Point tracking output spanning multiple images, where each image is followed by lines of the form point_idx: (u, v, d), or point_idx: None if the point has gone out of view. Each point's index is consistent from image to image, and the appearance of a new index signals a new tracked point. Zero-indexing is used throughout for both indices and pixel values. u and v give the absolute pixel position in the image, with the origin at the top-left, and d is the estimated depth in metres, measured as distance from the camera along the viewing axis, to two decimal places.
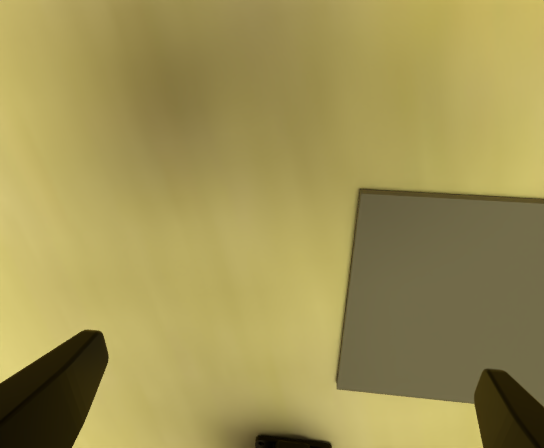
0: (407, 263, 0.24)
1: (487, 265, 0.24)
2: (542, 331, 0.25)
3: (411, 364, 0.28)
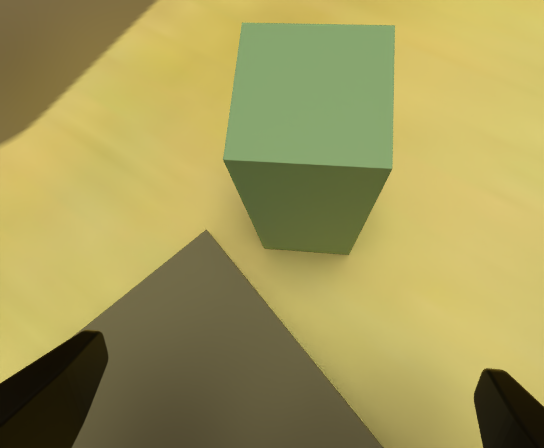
0: None
1: (146, 367, 0.22)
2: (261, 382, 0.22)
3: None
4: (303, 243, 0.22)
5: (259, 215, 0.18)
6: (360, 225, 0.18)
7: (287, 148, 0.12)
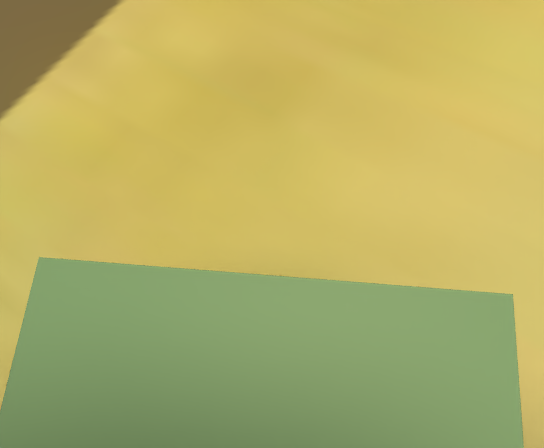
0: None
1: None
2: None
3: None
4: None
5: None
6: None
7: None
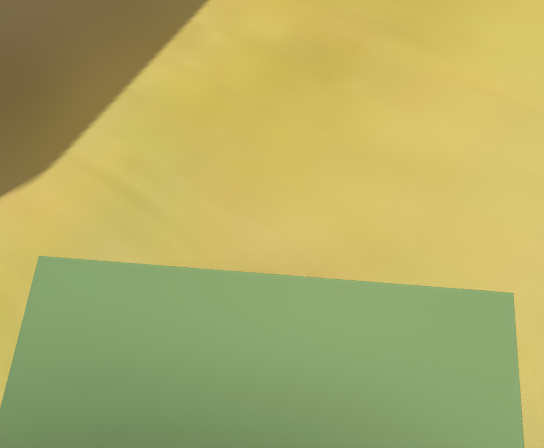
0: None
1: None
2: None
3: None
4: None
5: None
6: None
7: None
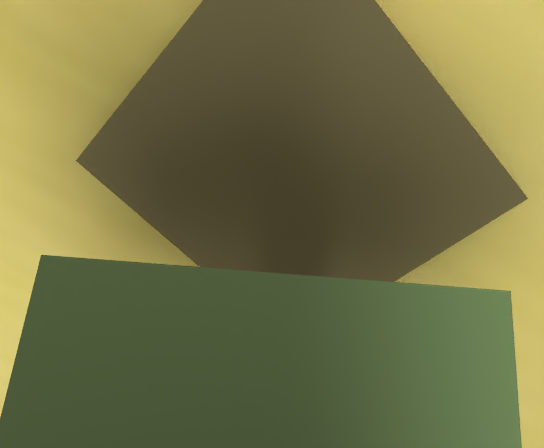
0: (180, 180, 0.20)
1: (236, 115, 0.18)
2: (379, 124, 0.18)
3: (314, 269, 0.22)
4: None
5: None
6: None
7: None
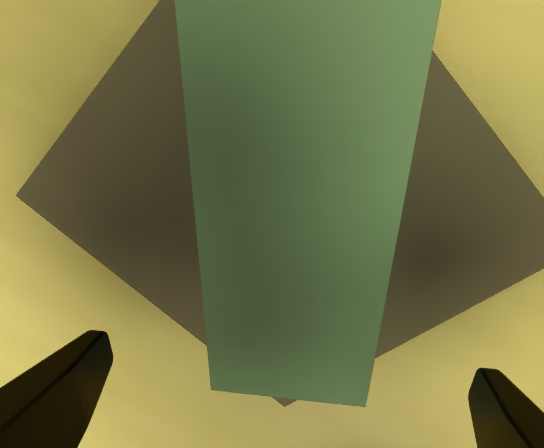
0: (144, 220, 0.16)
1: None
2: None
3: None
4: (284, 352, 0.12)
5: (211, 204, 0.10)
6: (392, 234, 0.10)
7: None
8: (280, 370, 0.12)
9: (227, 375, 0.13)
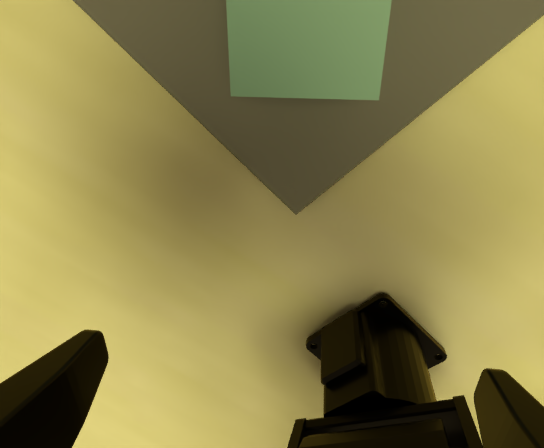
0: None
1: None
2: None
3: (323, 105, 0.19)
4: (301, 31, 0.13)
5: None
6: None
7: None
8: (297, 58, 0.13)
9: (246, 72, 0.13)
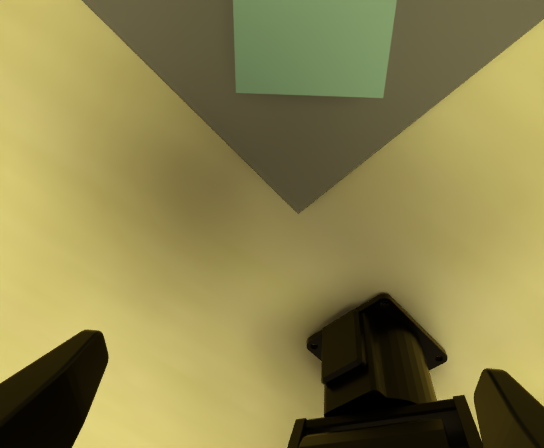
0: None
1: None
2: None
3: (326, 104, 0.19)
4: (307, 28, 0.13)
5: None
6: None
7: None
8: (303, 55, 0.13)
9: (252, 69, 0.14)
